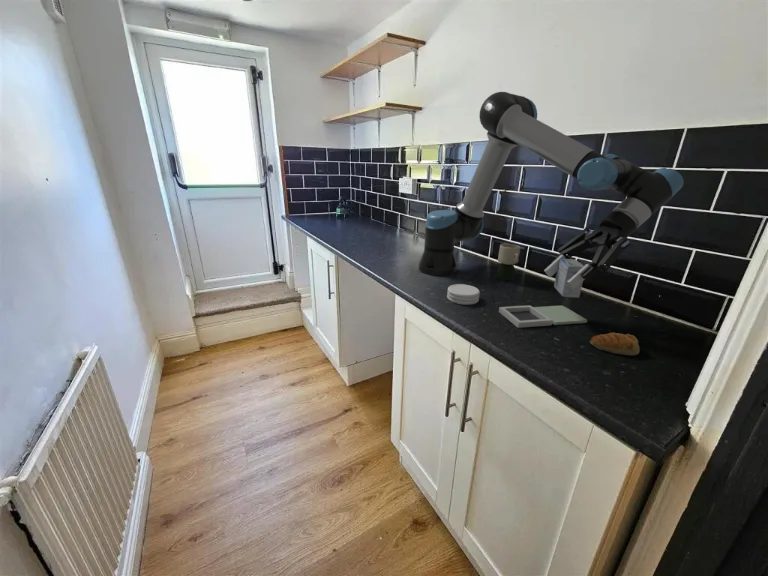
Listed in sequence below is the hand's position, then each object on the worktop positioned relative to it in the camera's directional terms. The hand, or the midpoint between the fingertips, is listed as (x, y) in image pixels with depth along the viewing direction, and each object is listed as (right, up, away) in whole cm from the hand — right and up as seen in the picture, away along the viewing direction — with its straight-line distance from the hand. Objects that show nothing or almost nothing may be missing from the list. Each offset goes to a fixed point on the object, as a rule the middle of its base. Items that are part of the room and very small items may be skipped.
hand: (558, 279), depth 89 cm
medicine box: (+3, -4, +2) cm, 5 cm away
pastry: (+7, -17, -11) cm, 22 cm away
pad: (+3, -10, +5) cm, 12 cm away
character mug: (-2, +1, +35) cm, 35 cm away
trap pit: (-8, -11, +3) cm, 14 cm away
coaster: (-22, -6, +16) cm, 28 cm away
